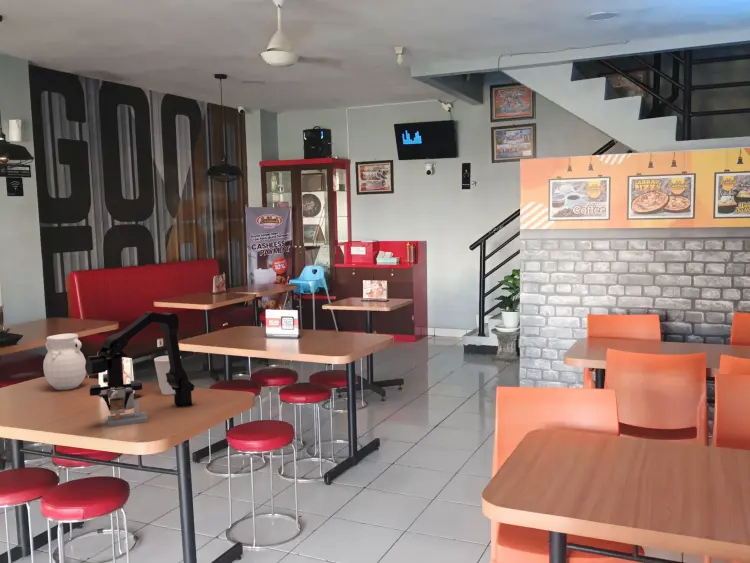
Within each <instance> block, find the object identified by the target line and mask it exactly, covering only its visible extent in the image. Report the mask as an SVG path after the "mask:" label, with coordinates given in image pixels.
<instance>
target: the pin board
mask: <svg viewBox="0 0 750 563" xmlns="http://www.w3.org/2000/svg"><path fill="white" fill-rule="evenodd" d="M139 403H140V402H139V398H134V407H133V410H134V412H129V413H120V414H113V415H108V416H107V424H108V425H107V426H108V428H110V427H111V428H112V427H119V426H126V425H134V424H139V423H140V424H142V423H148V420H149V419H148V416H147V412H146V411H140V406H139V405H140V404H139Z"/></svg>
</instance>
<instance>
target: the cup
mask: <svg viewBox="0 0 750 563" xmlns="http://www.w3.org/2000/svg"><path fill="white" fill-rule="evenodd" d="M120 397H123V398H124V397H125V389H121V390H114V391H113V392H112V393H111V395H110V399H112V398H120ZM134 399H135V397H134V393H131V394H130V397H129V399H128V402H127V405H126V408H125V411H126V410H130V409H132V408H133V409H134Z"/></svg>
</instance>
